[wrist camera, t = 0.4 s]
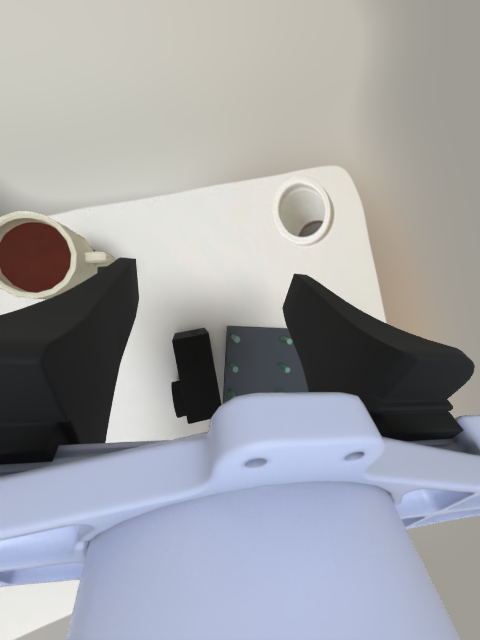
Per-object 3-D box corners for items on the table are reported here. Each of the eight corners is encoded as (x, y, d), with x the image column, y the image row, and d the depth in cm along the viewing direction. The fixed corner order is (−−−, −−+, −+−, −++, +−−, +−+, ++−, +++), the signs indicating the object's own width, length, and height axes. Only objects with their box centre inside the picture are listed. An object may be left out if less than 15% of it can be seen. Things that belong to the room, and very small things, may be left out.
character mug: (128, 243, 35) (95, 208, 22) (134, 297, 35) (106, 293, 23) (35, 247, 33) (-60, 212, 20) (44, 304, 33) (-43, 305, 20)
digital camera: (165, 334, 36) (161, 341, 30) (204, 327, 38) (208, 332, 31) (179, 405, 37) (178, 427, 31) (216, 396, 38) (223, 416, 32)
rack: (321, 422, 42) (335, 434, 38) (221, 426, 39) (225, 439, 35) (328, 330, 42) (343, 333, 38) (227, 325, 38) (232, 328, 34)
